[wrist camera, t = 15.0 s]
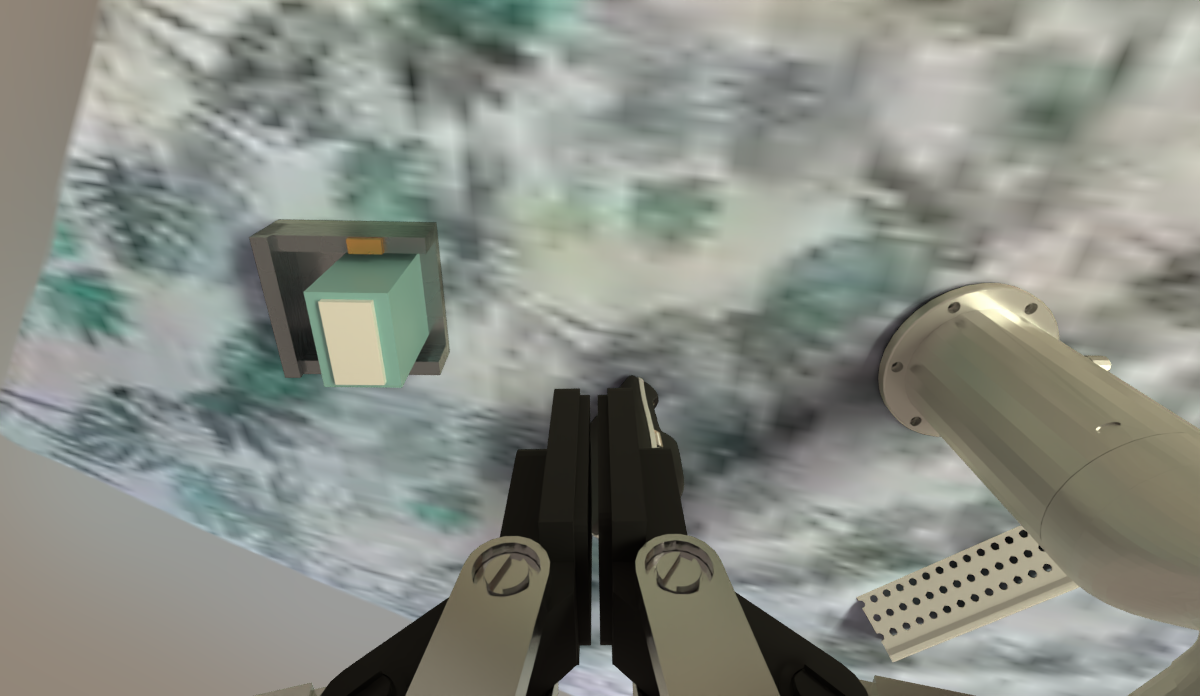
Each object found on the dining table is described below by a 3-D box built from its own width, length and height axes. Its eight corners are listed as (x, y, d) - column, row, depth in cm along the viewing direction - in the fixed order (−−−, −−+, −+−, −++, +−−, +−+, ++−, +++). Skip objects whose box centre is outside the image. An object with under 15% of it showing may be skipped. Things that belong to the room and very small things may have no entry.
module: (418, 251, 38) (385, 296, 32) (428, 334, 41) (400, 391, 34) (348, 250, 38) (300, 294, 31) (363, 333, 41) (321, 390, 34)
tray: (436, 222, 38) (422, 240, 35) (449, 351, 43) (438, 378, 39) (278, 219, 38) (248, 237, 34) (308, 350, 42) (285, 377, 39)
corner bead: (885, 637, 60) (909, 684, 56) (851, 589, 57) (874, 635, 52) (1210, 502, 53) (1268, 545, 48) (1195, 437, 49) (1255, 477, 45)
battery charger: (619, 454, 47) (630, 567, 37) (580, 432, 46) (580, 543, 36) (672, 392, 45) (699, 496, 35) (632, 368, 44) (647, 468, 34)
